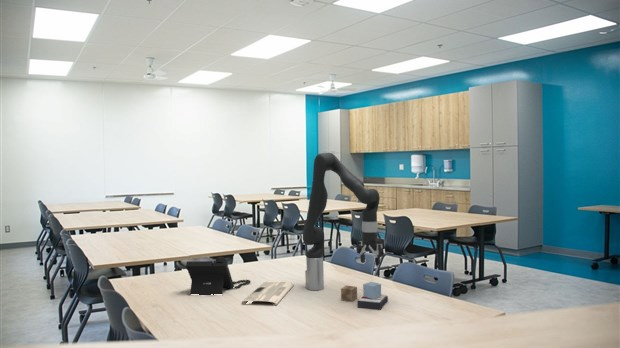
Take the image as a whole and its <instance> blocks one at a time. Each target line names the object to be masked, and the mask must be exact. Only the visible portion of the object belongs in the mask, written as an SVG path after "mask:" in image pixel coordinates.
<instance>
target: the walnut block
mask: <svg viewBox="0 0 620 348" xmlns="http://www.w3.org/2000/svg"><path fill="white" fill-rule="evenodd" d="M340 300H341V301H344V302H350V303H353V302H355V301H357V300H358V286H355V285H354V286H353V285H344V286H343V287H341V288H340Z"/></svg>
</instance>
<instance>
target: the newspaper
mask: <svg viewBox="0 0 620 348" xmlns="http://www.w3.org/2000/svg"><path fill="white" fill-rule="evenodd" d="M294 286H295V283H293V282H291V281H283V280H282V281H281V280H279V281H277V280H276V281H275V280H274V281H270V280H267V281H265V282H263V283H261V284H260V285H259V286H258V287H257V288H255V290H253V292H251V293H250V294H249V295H248V296H247V297H246V298H244V299H243V300H242V301H241V304H242V305H247V304H246V303H247V302H248V301H254V302H270V303H272V304H273V303H274V304H273V305H272V306H275V307H276V306H278V304H279V303H280V302H281V301H282V300H283V298H284V297H286V295H287V294H288V292H290V290H291V289H292V288H293V287H294Z"/></svg>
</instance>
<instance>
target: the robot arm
mask: <svg viewBox="0 0 620 348" xmlns="http://www.w3.org/2000/svg"><path fill="white" fill-rule="evenodd" d="M312 171H313V172H312V182H311V190H310V195H309V202H308V208H307V215H306V219H305V223H304V227H303V230H302V241H303V244H304V245H306V246H312V247H311V248H310V249H309V250H307V251H306V253H305V257H306V258H305V261H306V265H305V266H306V270H304V271H305V273H304V274H305V276H304V277H305V288H306V289H307V290H309V291H321V290H324V288H325V279H324V278H325V274H324V252H325V232H324V229H323V228H322V227H320V226H316V224H317V221H318V220H319V218H320V217H321V216H322V214H323V213H324V211H325V209H326V208H327V205H328V204H327V203H328V195H329V194H328V191H327V187H326V185H325V176H326V172H328V171H331V172H334V173H335V174H337V176H339V178H340V181H341V183H342V184H343V185H344V187H346V188H347V189H348V191H351V192H352V193H353V195H354V196H355V197H356V198H357V200H358V201H359V202H360V203H362V204H363V205H366V207H365V208H364V209H363V210H362V212H361V214H362V215H361V217H362V218H361V222H362V223H361V239H362V240H359V241H356V242H357V243H356V253H357V254H359V256H360V263H361V264H364V263H365V262H366V255H365V254H367V252H369V253H372V254H373V255H374V256H375V258H374V259H375V261H374V262H375V266H380V265H381V258H382V257H384V253H385V251H384V244H383V243H378V239H379V237H378V235H379V234H378V233H379V230H378V228H379V227H378V209H379V205H380V194H379V192H378V190H377V189H375V188H369V189H368V188H366V187H365V183H364V182H363V181H362V180H361V179H359V178H358V177H357V176H356V175H355V174H353V173H352V172H351V171H350V170H349V169H348V168H347V167H346V165H344V164H343V163H342V162H341V160H339V158H338V157H337V156H336V155H335V154H333V153H331V152H325V153H318V154H316V156H315V157H314V160H313V169H312ZM315 226H316V227H315Z"/></svg>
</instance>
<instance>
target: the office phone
mask: <svg viewBox="0 0 620 348" xmlns="http://www.w3.org/2000/svg"><path fill="white" fill-rule="evenodd" d="M185 267H186V270H187V273H188V275H189V277H190V280H191V283H190V292H189V295H190V294H199V295H211V294H213V295H214V294H224V293H223V292H224V289H233V287H234V288H236V289H237V288H238V289H241V287H242V285H244V286H246V284H247V285H250V283H251V280H250V279H240V280H236V281H233V278H232V275H231V272H230V269H229V265H228V262H227V258H226V257H223V256H218V257H216V258H215V260H214V261H213V260H209V261H208V260H207V261H206V260H203V261H201V260H200V261H195V260H194V261H186V264H185ZM240 282H242V283H240ZM235 283H238V284H237V285H236V284H235Z"/></svg>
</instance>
